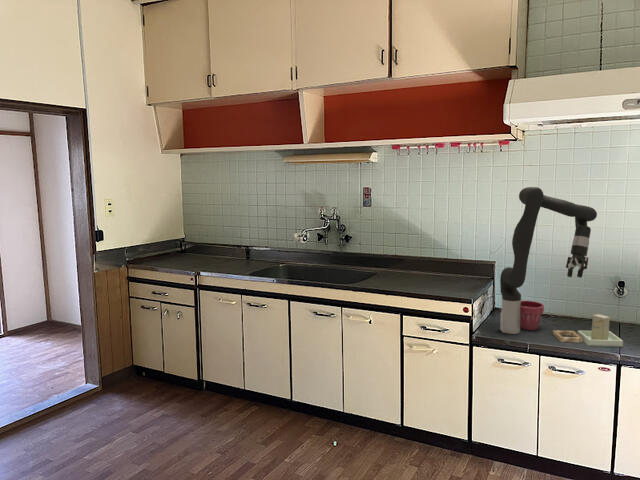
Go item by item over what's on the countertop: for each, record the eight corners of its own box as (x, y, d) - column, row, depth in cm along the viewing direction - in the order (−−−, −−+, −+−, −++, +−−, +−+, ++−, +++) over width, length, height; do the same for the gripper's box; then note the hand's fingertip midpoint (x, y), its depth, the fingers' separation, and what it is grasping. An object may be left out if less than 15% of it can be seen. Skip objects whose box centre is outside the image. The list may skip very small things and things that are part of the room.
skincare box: (590, 339, 253) (592, 314, 251) (597, 337, 255) (598, 313, 253) (602, 342, 247) (603, 318, 245) (608, 341, 249) (610, 316, 247)
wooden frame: (560, 341, 251) (560, 337, 251) (552, 334, 263) (552, 330, 263) (582, 342, 250) (582, 338, 250) (573, 334, 262) (573, 330, 262)
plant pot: (539, 333, 265) (540, 308, 264) (511, 328, 273) (512, 305, 271) (545, 325, 277) (546, 302, 275) (518, 322, 285) (518, 299, 283)
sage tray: (588, 346, 244) (589, 340, 244) (577, 336, 259) (577, 330, 259) (622, 347, 242) (623, 340, 242) (609, 336, 257) (609, 331, 257)
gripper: (565, 244, 271) (559, 275, 270) (581, 243, 257) (575, 275, 256) (578, 248, 272) (572, 278, 271) (595, 247, 258) (589, 279, 257)
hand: (574, 277), depth 263 cm, fingers open, 8 cm apart
